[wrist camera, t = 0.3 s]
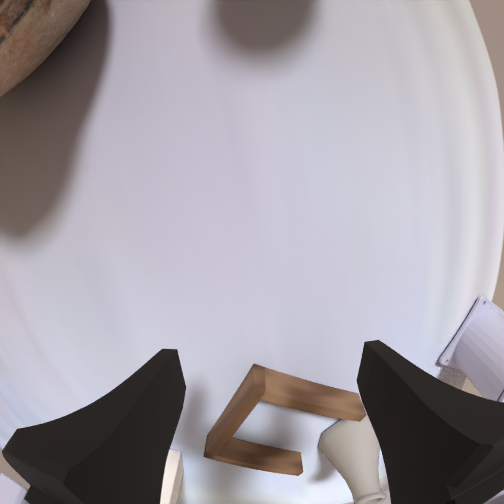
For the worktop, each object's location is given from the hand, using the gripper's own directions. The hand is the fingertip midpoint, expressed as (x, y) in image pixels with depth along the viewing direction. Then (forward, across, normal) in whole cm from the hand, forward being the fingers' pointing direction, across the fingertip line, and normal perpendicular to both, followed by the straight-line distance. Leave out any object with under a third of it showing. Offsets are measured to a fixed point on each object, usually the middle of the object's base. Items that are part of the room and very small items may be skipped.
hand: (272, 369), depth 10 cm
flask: (+10, -9, +20) cm, 24 cm away
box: (+10, -2, +16) cm, 19 cm away
